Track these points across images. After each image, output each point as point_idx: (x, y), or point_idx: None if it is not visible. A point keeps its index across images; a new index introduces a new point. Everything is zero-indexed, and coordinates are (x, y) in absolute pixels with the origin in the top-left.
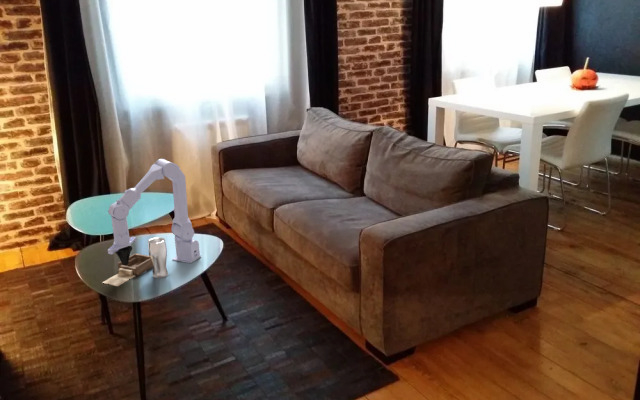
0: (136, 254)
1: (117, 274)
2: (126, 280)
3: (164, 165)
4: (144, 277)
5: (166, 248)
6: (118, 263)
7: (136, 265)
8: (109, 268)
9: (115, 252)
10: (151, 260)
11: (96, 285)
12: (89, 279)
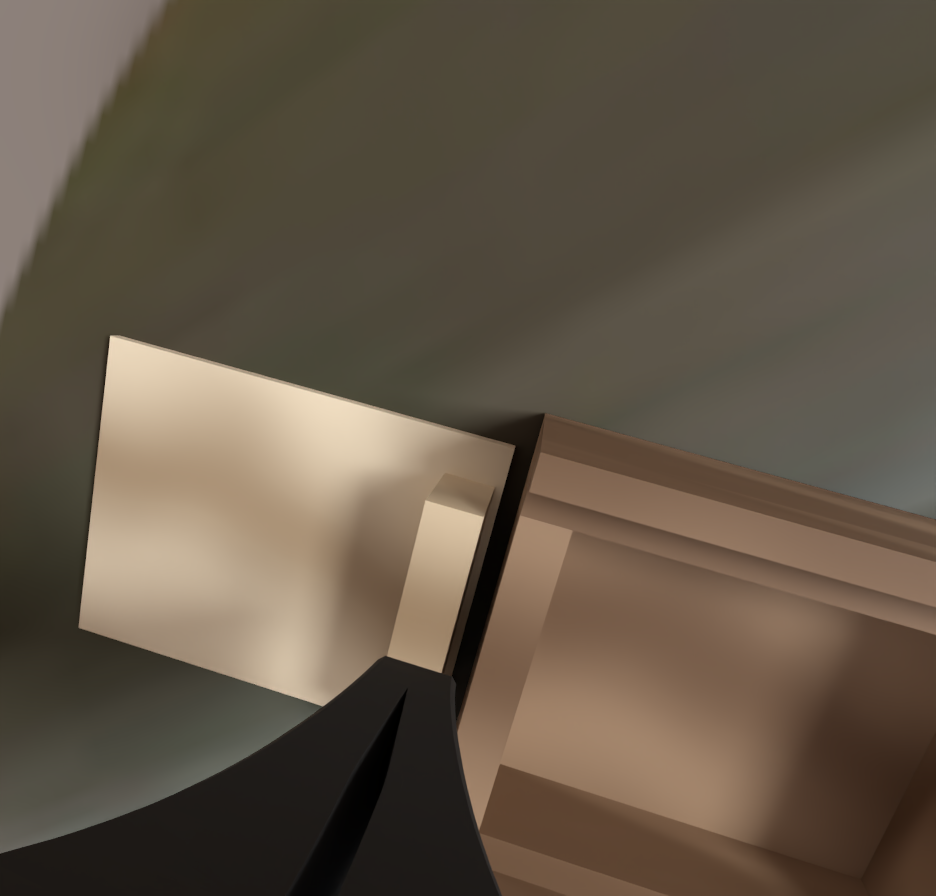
0: None
1: (431, 448)
2: (253, 678)
3: None
4: None
5: None
6: (532, 480)
7: (798, 656)
8: (714, 129)
9: (27, 857)
10: None
11: (30, 287)
12: (190, 13)
